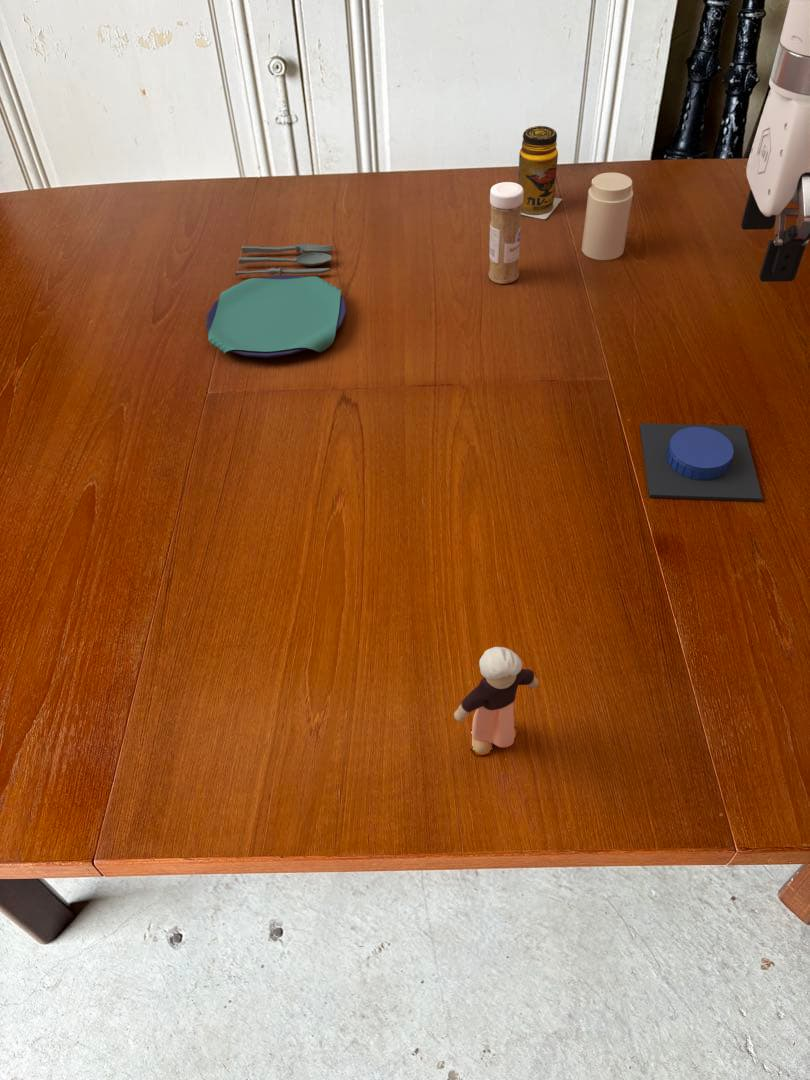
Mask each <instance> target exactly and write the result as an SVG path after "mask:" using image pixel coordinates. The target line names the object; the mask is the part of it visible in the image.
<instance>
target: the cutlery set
mask: <svg viewBox="0 0 810 1080" xmlns="http://www.w3.org/2000/svg"><path fill="white" fill-rule="evenodd" d="M241 251H242V254H249V253H285V252H291V251H295V252H296V253H298V254H300V255H298V256H295V257H294V258H285V257H283V258H282V257H263V256H261V257H258V256H257V257H255V256H254V257H253V256H251V257H250V256H249V257H248V256H239V257H238V260H237V261H238V263H239V265H241V264H250V263H269V262H270V263H271V262H272V263H298V264H299V265H301V266H307V267H314V266H319V265H323V264H325V263H327V262H329V261H331V260H332V259H333V258H332V257H333V255H331V254H328V253H329V252H333V251H334V244H330V245H329V244H328V245H326V244H325V245H323V244H322V245H321V244H310V243H309V244H308V243H305V242H302V243H300V244H299V243H298V242H297V243H295V245H285V246H258V245H242V246H241ZM328 272H331V268H330V267H322V268H293V269H292V268H291V269H289V268H288V269H283V268H282V266H279V268H275V267H270V268H267V269H259V270H251V271H250V270H249V271H248V270H247V271H246V270H245V271H243V270H241V271H239V270H235V273H234V274H235V277H237V276H238V275H240V276H241V275H249V274H268V275H272V276H266V277H251V278H247V279H246V280H243V281H241V282H239V283H237V284H235V285H233V286H231V287H228V288H227V289H226V290H223V291H222V292H221V293H220V294H219V298H218V299H217V300H216V301H215V302H214V303H213V304H212V306H211V308H210V309H209V311H208V312H207V314H206V323H205V328H206V329H205V330H206V331H207V333H208V336H207V339H208V342H209V343H210V345H211V346H214V347H215V348H216V349H218V350H219V351H220V352H222V353H223V354H226V353H227V352H231V353H234V354H236V355H240V356H243V357H252V358H267V359H268V358H277V357H283V356H289V355H290V356H291V355H294V354H297V353H300V352H303V351H306V350H313V351H315V352H318V353H323V352H324V351H326V350H327V349H328V348H330V347H331V346H332V344H333V343H334V341H335V337H336V332H337V330H339V329H340V328H341V326H342V325H343V322H344V320H345V317H346V314H347V306H346V300H345V298H344V297H343V295H342V289H340V288H339V287H338V286H334V284H332V283H329V281H326V280H325V279H323V278H321V277H319V276H315V275H316V274H324V273H328ZM283 274H284V275H283ZM312 274H315V275H313V276H305V275H312ZM322 351H323V352H322Z"/></svg>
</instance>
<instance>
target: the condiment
mask: <svg viewBox="0 0 810 1080" xmlns="http://www.w3.org/2000/svg"><path fill="white" fill-rule="evenodd" d="M557 141H558V132H557V131H556V130H555V129H554V128H552V127H549V126H545V125H536V126H531V127H528V128H527V129H525V131H523V134H522V142H521V148H520V150H519V154H518V155H519V156H518V174H517V175H518V176H517V184H519V185H521V186H522V188H523V191H524V192H523V203H522V206H521V216H526V217H530V218H534V219H539V220H546V219H547V218H548V217H550V215H552V213H553V212H554V211H555V209H556V208H557V207H558V205H559V204H560V203H561V201H563V198H559V197H555V193H556V181H557V180H556V179H557V168H558V159H559V158H558V157H559V151H558V148H557V145H558V143H557Z"/></svg>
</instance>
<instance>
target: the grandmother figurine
mask: <svg viewBox="0 0 810 1080" xmlns="http://www.w3.org/2000/svg"><path fill="white" fill-rule="evenodd" d="M478 662H479V663H478V665H479V671H480V674H481V676H482V679H480V681H479V684H478V685H477V686H475V688H473V689H472V690H471V691H470V692H469V693H468V694H467V696H465V697H464V698H463V699H462V700H461V703H460V704H459V706H458V707H457V709H456V710H455V711H454V713H453V717H454V719H455V721H457V722H464V721H465V720H466V719H467V717H468V716H469V715H470V713H471V712H473V711H475V712H474V714H473V718H472V722H471V723H472V724H471V729H472V731H471V734H472V746H473V750H475V751H476V752H478V753H485V752H486V751H487V752H488V751H489V750H490V748H491V744H492V745H495V746H496V747H498V748H503V749H504V748H508V747H511V746H512V745H513V744H514V743H515V740H514V734H515V730H514V727H515V718H514V716H515V715H514V713H515V711H514V708H515V707H514V706H515V702H516V697H517V691H518V687H519V686H526V687H528V688H529V689H533V690H534V689H536V688H537V687H538V686H539V679H538V678H537V677H536V676H535V672H534V671H533V670H532V669H530V668H523V662H522V659H521V658H520V656H519V655H518V654H517V653H516V652H514V651H513V650H511V649H510V648H507V647H505V646H504V647H502V646H493V647H490V648H488V649H486V650H485V651H484V653H483V654H482V655H481V657H480V659H479V661H478Z"/></svg>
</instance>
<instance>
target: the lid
mask: <svg viewBox="0 0 810 1080" xmlns="http://www.w3.org/2000/svg"><path fill="white" fill-rule="evenodd" d="M733 453H734V450H733V446H732V444H731V442H730V441H729V439H728V438H727V437H725V436H724V435H723V434H721V433H719V432H717V431H715V430H712V429H709V428H704V427H689V428H685V429H682V430H680V431H678V432H676V433H675V434H674V435H673V437H672V438H671V441H670V443H669V446H668V450H667V454H666V455H667V458H668V459H667V461H668V462H669V464H670V466H671V467H672V468H673V469H674V470H675V471H677V472H678V473H680V474H681V475H683V476H686V477H688V478H692V479H697V480H710V479H715V478H718V477H720V476H722V475H723V474H724V473H725V472H727V470H728V468H730V465H731V462H732V457H733Z"/></svg>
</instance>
